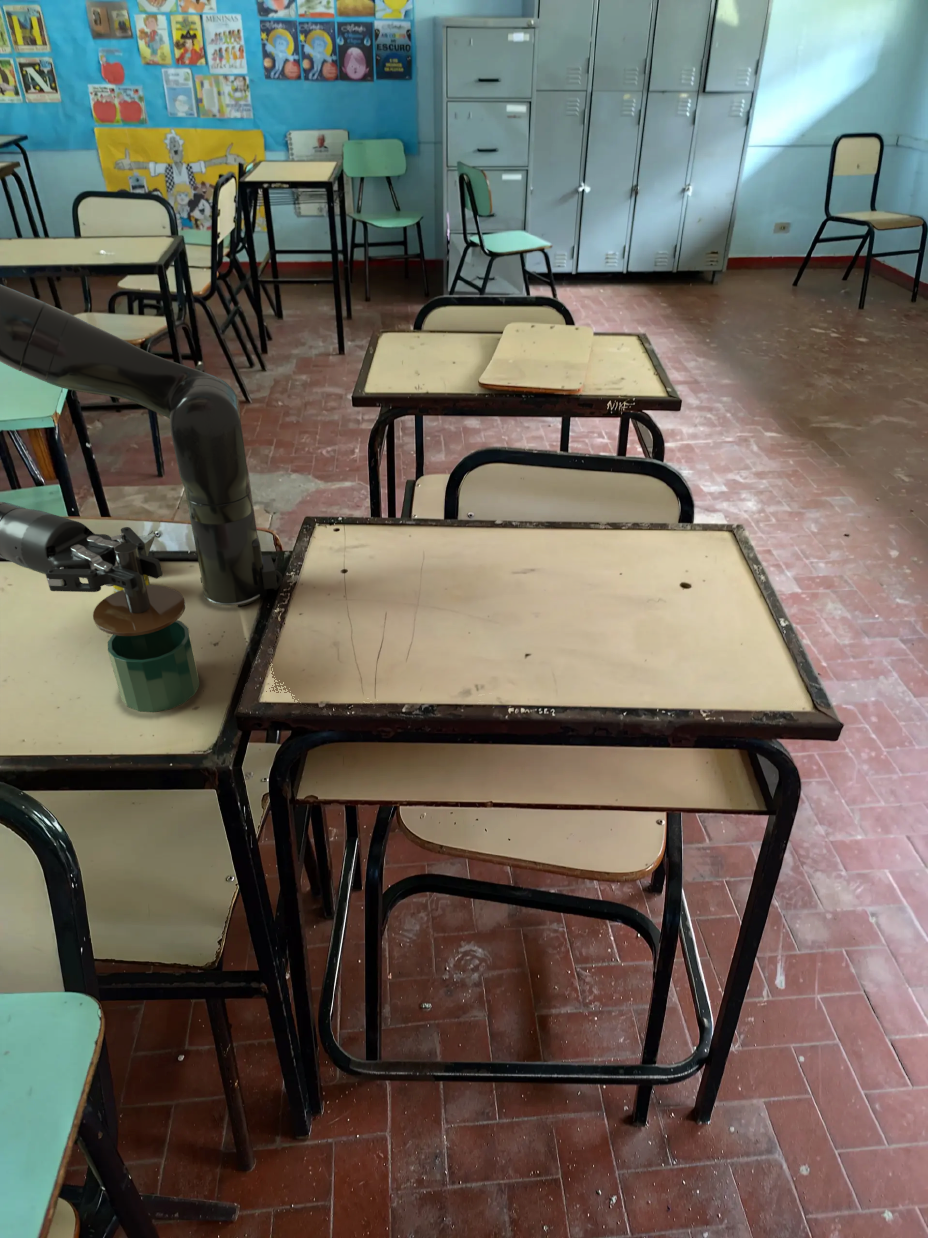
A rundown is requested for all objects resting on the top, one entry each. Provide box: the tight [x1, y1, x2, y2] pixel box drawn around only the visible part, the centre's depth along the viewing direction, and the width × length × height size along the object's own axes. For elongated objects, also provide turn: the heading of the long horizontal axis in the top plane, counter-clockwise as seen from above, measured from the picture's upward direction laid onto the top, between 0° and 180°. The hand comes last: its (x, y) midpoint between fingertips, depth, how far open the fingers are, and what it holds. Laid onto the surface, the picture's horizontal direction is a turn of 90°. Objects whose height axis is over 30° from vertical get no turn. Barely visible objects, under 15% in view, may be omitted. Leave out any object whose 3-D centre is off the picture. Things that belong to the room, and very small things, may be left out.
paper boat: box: [138, 530, 157, 556], centre depth 138 cm, size 12×6×9 cm
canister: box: [107, 619, 200, 713], centre depth 110 cm, size 10×10×8 cm
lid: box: [92, 543, 186, 636], centre depth 103 cm, size 11×11×10 cm
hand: (149, 575), depth 101 cm, fingers closed on lid, 2 cm apart
